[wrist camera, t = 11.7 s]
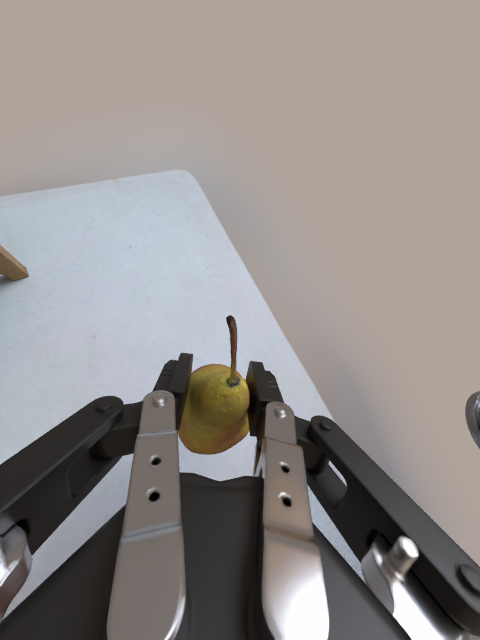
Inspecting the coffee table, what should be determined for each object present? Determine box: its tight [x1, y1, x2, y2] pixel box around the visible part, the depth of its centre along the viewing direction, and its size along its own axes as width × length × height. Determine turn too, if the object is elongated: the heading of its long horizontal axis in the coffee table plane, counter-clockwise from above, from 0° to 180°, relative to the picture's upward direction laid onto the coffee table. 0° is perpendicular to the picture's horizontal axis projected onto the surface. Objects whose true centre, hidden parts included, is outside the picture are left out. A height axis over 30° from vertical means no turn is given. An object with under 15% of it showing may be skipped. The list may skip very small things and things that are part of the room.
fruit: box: [177, 315, 249, 454], centre depth 13 cm, size 6×6×12 cm
